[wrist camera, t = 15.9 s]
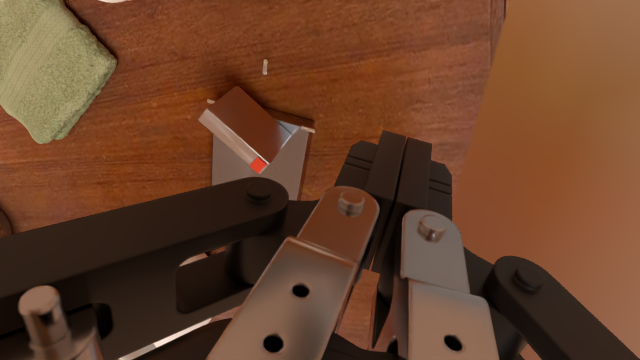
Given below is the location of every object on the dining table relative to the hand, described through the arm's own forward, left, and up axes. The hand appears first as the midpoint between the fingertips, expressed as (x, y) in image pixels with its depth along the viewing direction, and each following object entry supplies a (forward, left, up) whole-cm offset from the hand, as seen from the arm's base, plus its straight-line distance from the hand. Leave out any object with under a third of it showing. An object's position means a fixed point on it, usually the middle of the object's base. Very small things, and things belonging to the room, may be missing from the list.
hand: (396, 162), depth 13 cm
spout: (+12, -13, -23) cm, 29 cm away
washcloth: (+14, -39, -25) cm, 48 cm away
